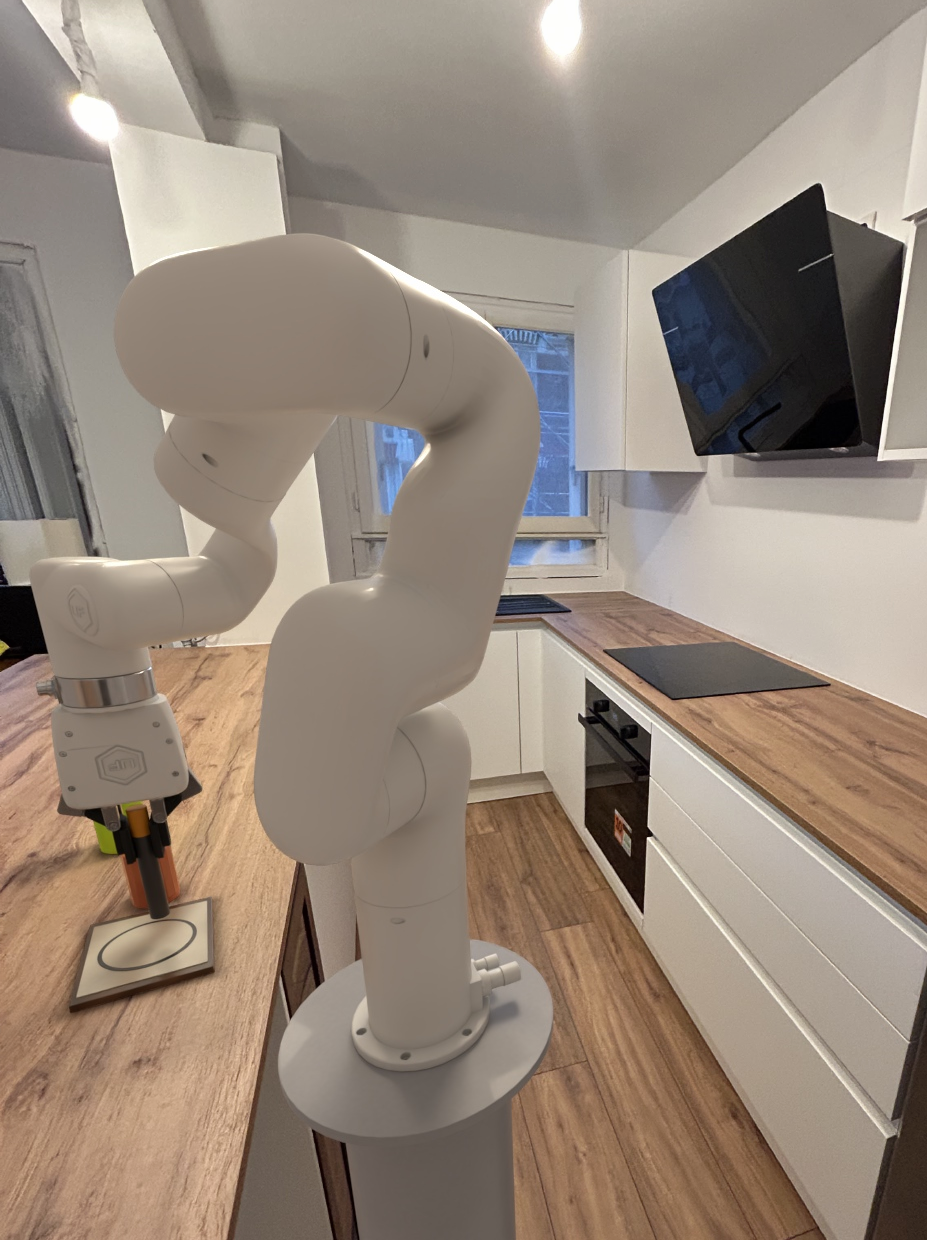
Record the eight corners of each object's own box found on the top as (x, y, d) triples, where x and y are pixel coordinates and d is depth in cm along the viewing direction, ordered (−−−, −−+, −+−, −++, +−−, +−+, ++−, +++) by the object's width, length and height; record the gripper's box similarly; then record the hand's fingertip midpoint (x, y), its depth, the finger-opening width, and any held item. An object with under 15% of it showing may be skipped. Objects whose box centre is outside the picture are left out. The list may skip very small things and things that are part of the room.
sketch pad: (212, 901, 80) (211, 895, 80) (214, 972, 68) (213, 964, 68) (91, 930, 74) (89, 923, 74) (70, 1013, 62) (67, 1005, 62)
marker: (170, 908, 72) (147, 802, 68) (169, 916, 71) (145, 809, 66) (151, 912, 71) (126, 806, 67) (149, 921, 70) (124, 813, 66)
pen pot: (181, 882, 84) (170, 834, 82) (179, 901, 80) (168, 851, 78) (134, 892, 82) (122, 843, 79) (130, 912, 78) (117, 861, 75)
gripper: (-11, 708, 56) (43, 892, 61) (204, 689, 63) (233, 853, 69) (10, 687, 62) (57, 857, 68) (204, 672, 70) (231, 825, 75)
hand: (146, 854), depth 68 cm, fingers closed on marker, 1 cm apart
